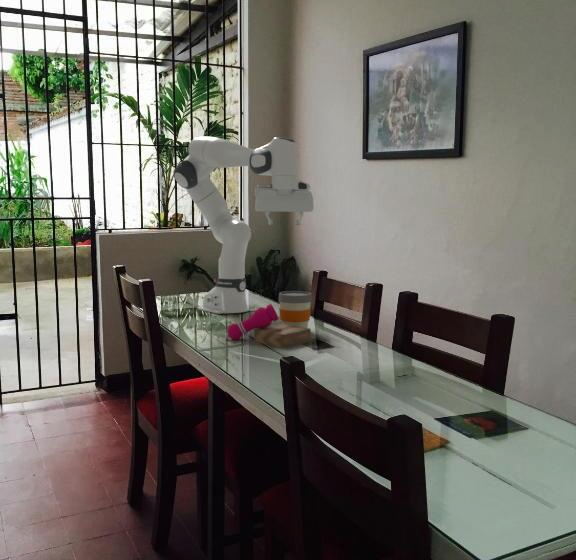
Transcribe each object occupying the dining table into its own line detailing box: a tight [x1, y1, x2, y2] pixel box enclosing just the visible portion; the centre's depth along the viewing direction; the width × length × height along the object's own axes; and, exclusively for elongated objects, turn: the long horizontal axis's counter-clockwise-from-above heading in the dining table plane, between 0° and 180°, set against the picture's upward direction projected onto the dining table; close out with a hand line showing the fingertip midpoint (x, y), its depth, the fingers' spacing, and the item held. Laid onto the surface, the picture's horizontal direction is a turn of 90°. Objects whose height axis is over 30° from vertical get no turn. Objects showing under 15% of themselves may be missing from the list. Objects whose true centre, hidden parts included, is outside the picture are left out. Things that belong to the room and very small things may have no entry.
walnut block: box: [254, 323, 312, 349], centre depth 229 cm, size 14×14×5 cm
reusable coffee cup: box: [278, 290, 313, 328], centre depth 243 cm, size 12×12×15 cm
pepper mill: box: [224, 303, 280, 341], centre depth 230 cm, size 7×7×20 cm
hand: (284, 225), depth 225 cm, fingers open, 8 cm apart
